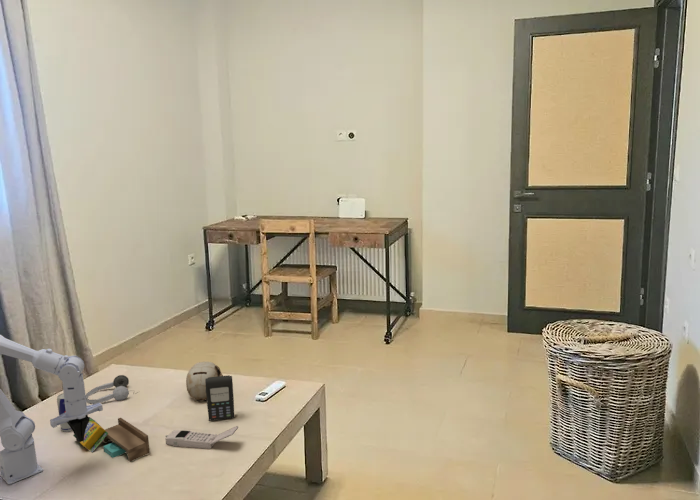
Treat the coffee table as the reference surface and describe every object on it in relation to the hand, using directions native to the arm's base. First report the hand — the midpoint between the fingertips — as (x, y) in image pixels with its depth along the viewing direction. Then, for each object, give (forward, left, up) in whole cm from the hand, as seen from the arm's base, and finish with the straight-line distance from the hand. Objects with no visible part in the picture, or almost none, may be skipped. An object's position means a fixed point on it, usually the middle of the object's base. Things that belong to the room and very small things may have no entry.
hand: (80, 440), depth 177 cm
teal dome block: (+11, 0, -9) cm, 14 cm away
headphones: (+28, +39, -9) cm, 49 cm away
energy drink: (+7, +27, -8) cm, 29 cm away
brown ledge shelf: (+13, 0, -8) cm, 16 cm away
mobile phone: (+30, -16, -9) cm, 35 cm away
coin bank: (+53, +15, -9) cm, 56 cm away
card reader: (+45, -7, -8) cm, 46 cm away
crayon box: (+8, +17, -5) cm, 19 cm away
